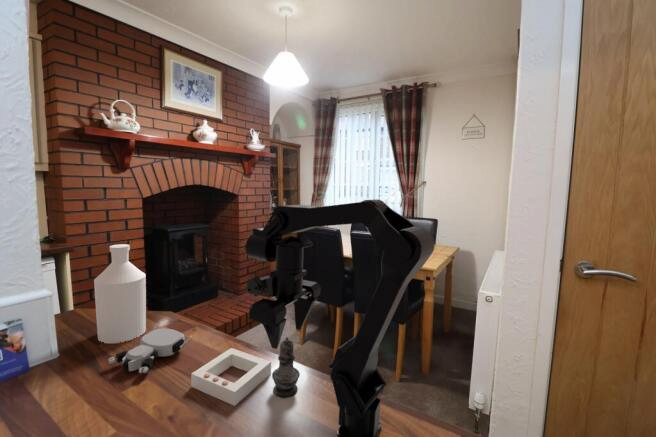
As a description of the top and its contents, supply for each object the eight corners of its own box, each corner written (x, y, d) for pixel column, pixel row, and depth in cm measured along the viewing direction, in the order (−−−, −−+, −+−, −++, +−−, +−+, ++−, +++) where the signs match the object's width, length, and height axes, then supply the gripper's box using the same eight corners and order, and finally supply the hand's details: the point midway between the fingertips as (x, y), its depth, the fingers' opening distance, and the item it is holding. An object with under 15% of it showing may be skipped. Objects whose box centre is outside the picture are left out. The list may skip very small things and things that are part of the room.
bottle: (91, 332, 88) (87, 244, 85) (139, 320, 97) (136, 240, 94) (102, 348, 80) (98, 252, 77) (153, 333, 89) (151, 246, 86)
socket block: (270, 373, 73) (271, 360, 73) (234, 405, 62) (234, 390, 62) (231, 359, 78) (231, 347, 78) (191, 386, 67) (191, 372, 67)
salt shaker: (273, 401, 64) (274, 345, 63) (270, 383, 70) (271, 331, 69) (301, 396, 66) (303, 342, 64) (296, 379, 72) (298, 329, 70)
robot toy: (145, 385, 69) (194, 347, 83) (143, 367, 68) (193, 332, 82) (104, 372, 73) (158, 338, 87) (102, 354, 72) (157, 323, 86)
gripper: (281, 252, 76) (280, 314, 78) (226, 270, 60) (226, 348, 61) (322, 259, 72) (320, 324, 74) (275, 280, 55) (273, 364, 57)
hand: (287, 338), depth 66 cm, fingers open, 9 cm apart
